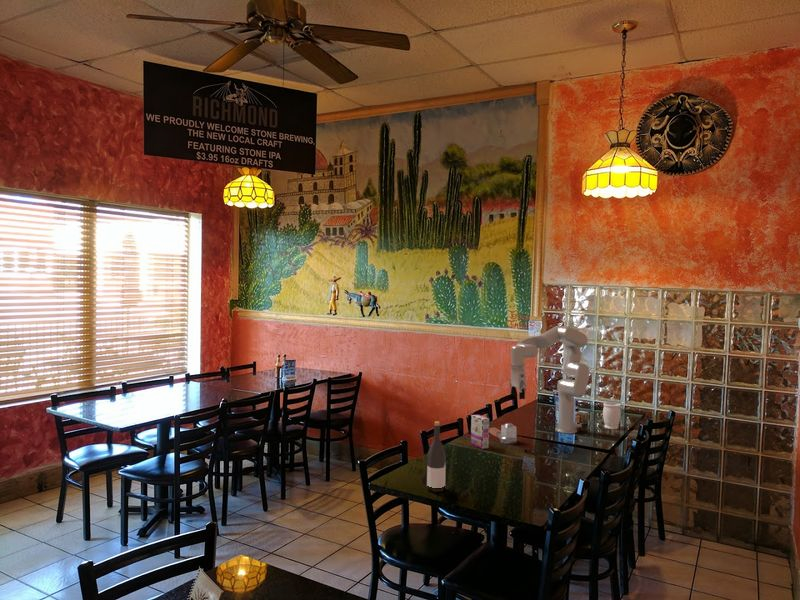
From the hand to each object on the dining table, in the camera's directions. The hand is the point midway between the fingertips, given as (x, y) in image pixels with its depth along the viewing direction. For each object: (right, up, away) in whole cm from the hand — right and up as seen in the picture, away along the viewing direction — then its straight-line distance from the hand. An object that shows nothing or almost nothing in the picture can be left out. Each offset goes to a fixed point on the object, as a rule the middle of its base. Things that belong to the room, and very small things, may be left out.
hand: (517, 397), depth 337 cm
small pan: (-8, -24, +5) cm, 26 cm away
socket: (-6, -22, -3) cm, 23 cm away
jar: (+64, -24, +30) cm, 75 cm away
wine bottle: (-51, -28, -77) cm, 97 cm away
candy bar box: (-23, -25, -12) cm, 36 cm away
